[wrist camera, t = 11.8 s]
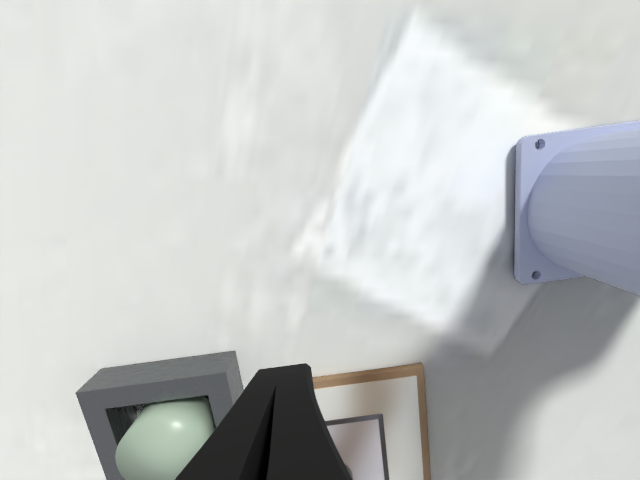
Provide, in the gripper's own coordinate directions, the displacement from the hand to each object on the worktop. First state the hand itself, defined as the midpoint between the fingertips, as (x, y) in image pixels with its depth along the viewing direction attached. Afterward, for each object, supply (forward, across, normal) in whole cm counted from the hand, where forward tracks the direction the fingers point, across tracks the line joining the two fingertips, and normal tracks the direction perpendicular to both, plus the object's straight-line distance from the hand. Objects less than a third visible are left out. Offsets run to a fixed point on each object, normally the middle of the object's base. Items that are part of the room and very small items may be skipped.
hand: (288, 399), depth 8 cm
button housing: (+9, +8, +8) cm, 15 cm away
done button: (+9, +9, +8) cm, 15 cm away
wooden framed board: (+9, -2, +12) cm, 15 cm away
